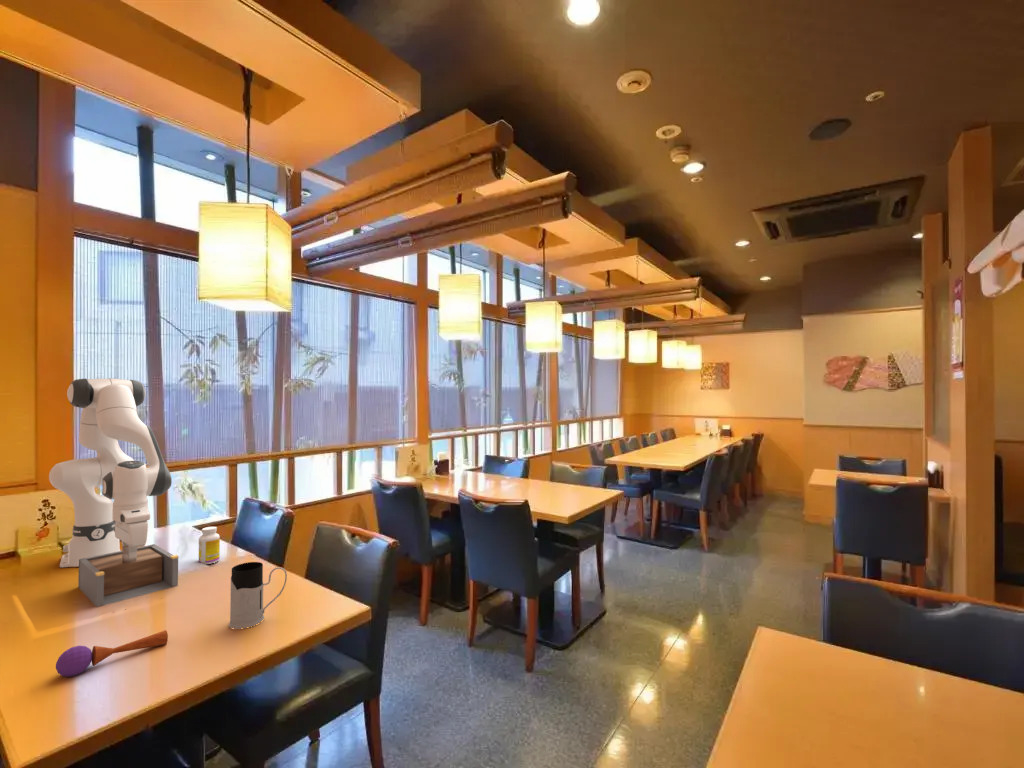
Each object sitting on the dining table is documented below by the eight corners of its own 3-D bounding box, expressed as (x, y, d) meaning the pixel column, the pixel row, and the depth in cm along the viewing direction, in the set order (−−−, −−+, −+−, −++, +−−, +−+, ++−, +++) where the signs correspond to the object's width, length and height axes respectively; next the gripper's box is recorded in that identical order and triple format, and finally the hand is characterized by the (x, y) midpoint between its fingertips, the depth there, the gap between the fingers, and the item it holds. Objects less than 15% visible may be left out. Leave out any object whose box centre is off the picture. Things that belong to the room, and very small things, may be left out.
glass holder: (231, 617, 133) (232, 563, 133) (287, 609, 138) (288, 557, 138) (225, 632, 125) (225, 574, 125) (285, 622, 130) (285, 567, 130)
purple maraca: (170, 631, 117) (60, 659, 102) (166, 655, 117) (55, 686, 102) (164, 620, 121) (56, 645, 106) (160, 642, 121) (52, 671, 106)
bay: (78, 591, 152) (78, 557, 152) (154, 572, 168) (154, 542, 168) (96, 611, 137) (97, 574, 138) (177, 589, 153) (178, 555, 153)
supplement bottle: (223, 560, 181) (224, 525, 181) (210, 566, 174) (211, 530, 175) (207, 559, 182) (207, 525, 182) (193, 565, 175) (194, 530, 175)
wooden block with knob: (87, 585, 153) (88, 545, 153) (148, 571, 165) (149, 533, 166) (98, 596, 144) (99, 553, 144) (161, 580, 157) (162, 540, 157)
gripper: (109, 509, 157) (108, 552, 156) (126, 519, 144) (126, 565, 144) (133, 506, 162) (132, 547, 161) (152, 515, 149) (151, 559, 149)
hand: (129, 555), depth 152 cm, fingers closed on wooden block with knob, 4 cm apart
